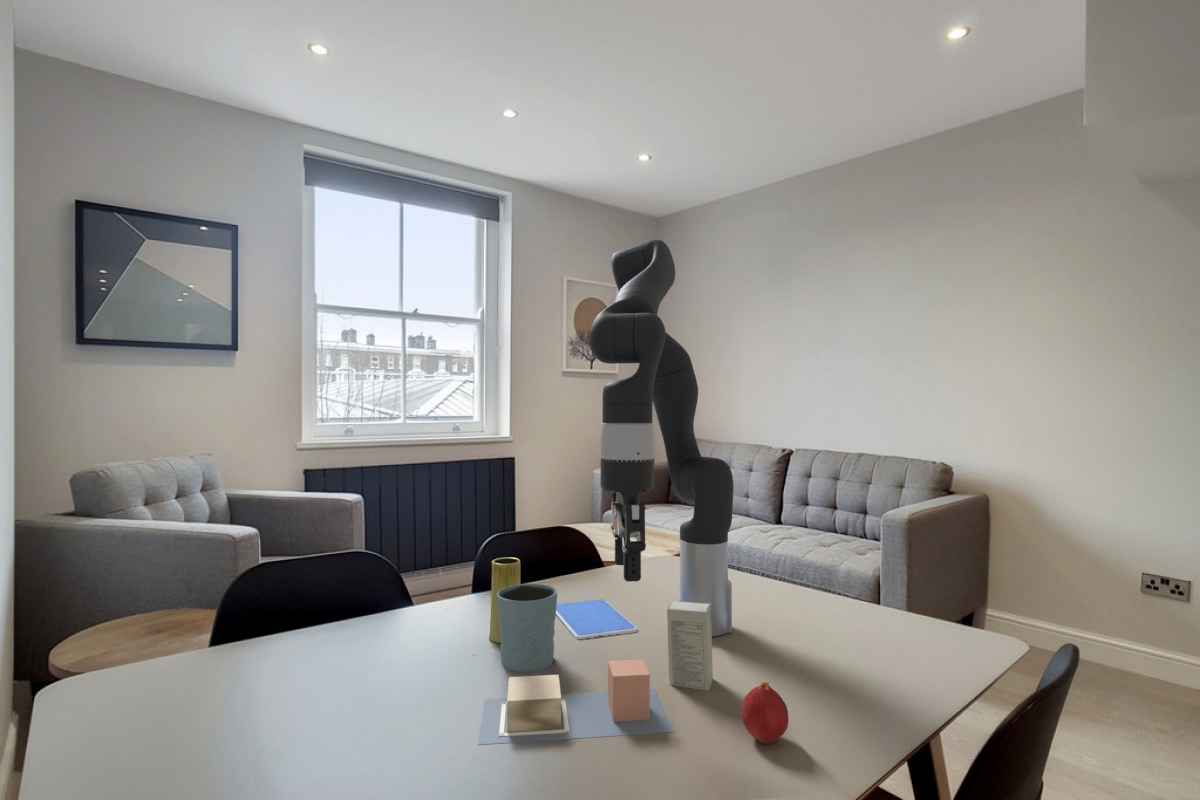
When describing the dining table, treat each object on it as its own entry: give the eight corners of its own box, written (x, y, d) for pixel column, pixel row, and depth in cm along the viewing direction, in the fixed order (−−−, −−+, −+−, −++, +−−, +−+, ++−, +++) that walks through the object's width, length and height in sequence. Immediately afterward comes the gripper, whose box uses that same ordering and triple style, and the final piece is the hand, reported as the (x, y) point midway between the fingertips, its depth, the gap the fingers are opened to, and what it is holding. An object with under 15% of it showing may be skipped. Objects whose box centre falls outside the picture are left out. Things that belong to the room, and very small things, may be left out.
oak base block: (558, 702, 85) (558, 674, 85) (561, 728, 78) (561, 697, 78) (508, 705, 84) (508, 677, 85) (507, 732, 78) (507, 700, 78)
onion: (735, 732, 78) (735, 671, 79) (778, 730, 79) (777, 669, 79) (750, 758, 73) (749, 691, 73) (796, 756, 73) (795, 690, 73)
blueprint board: (654, 693, 89) (654, 688, 89) (674, 736, 78) (674, 731, 78) (485, 702, 87) (485, 698, 87) (477, 749, 75) (477, 743, 75)
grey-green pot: (507, 682, 93) (508, 604, 94) (488, 658, 102) (488, 587, 103) (567, 669, 98) (567, 595, 98) (543, 647, 107) (544, 579, 107)
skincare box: (713, 682, 93) (713, 603, 93) (709, 694, 89) (708, 612, 89) (672, 676, 95) (672, 599, 95) (666, 688, 91) (666, 607, 91)
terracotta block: (642, 701, 86) (642, 659, 86) (649, 719, 81) (649, 674, 81) (608, 703, 85) (608, 661, 85) (613, 721, 80) (612, 676, 80)
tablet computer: (639, 634, 115) (639, 627, 115) (576, 643, 110) (576, 635, 110) (604, 604, 133) (604, 598, 133) (549, 610, 128) (549, 604, 128)
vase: (525, 632, 114) (525, 557, 115) (518, 644, 108) (518, 565, 108) (494, 630, 115) (494, 556, 115) (485, 643, 109) (485, 564, 109)
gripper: (664, 459, 77) (664, 586, 77) (644, 452, 91) (644, 559, 91) (607, 459, 76) (606, 588, 76) (595, 452, 90) (594, 560, 90)
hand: (627, 572), depth 83 cm, fingers open, 8 cm apart
